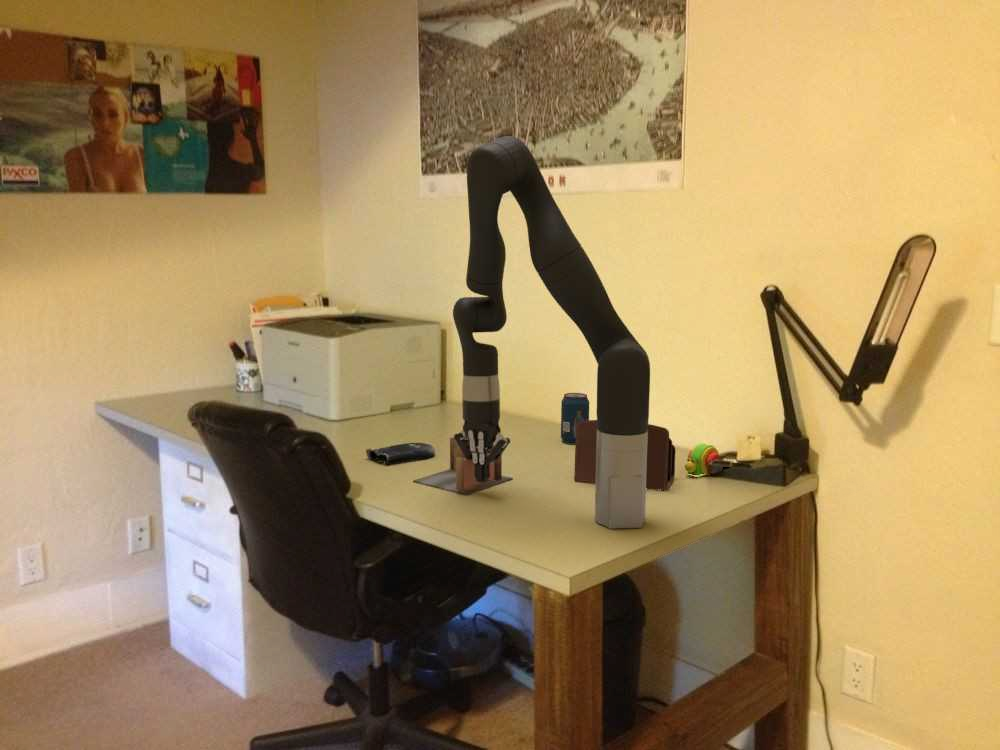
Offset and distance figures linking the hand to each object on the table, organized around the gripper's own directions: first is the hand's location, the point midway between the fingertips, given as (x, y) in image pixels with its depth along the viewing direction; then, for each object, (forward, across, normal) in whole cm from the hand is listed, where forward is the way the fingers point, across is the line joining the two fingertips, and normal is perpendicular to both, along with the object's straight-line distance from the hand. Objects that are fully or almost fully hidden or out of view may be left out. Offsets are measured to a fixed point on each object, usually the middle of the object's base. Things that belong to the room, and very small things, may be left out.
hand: (482, 481), depth 185 cm
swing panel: (+2, +4, -2) cm, 5 cm away
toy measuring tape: (+3, -31, -44) cm, 54 cm away
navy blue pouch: (+2, +32, -12) cm, 34 cm away
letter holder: (+3, -19, -26) cm, 32 cm away
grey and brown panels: (+2, +9, -5) cm, 11 cm away
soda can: (+2, +7, -49) cm, 49 cm away
